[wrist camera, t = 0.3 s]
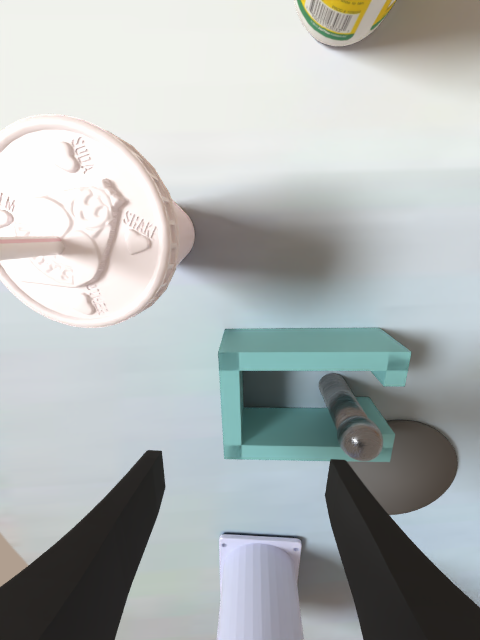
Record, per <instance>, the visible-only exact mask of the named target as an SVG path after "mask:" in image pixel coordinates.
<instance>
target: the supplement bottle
mask: <svg viewBox="0 0 480 640" xmlns="http://www.w3.org/2000/svg"><path fill="white" fill-rule="evenodd" d="M395 2H396V0H294V3H295V7H296V11H297V13H298V16H299V18H300V20H301V22H302V24H303V26H304V27H305V28H306V30H307V31H308V32H309V33H310V34H311V35H312V36H313V37H314V38H315V39H317V40H318V41H320V42H322V43H324V44H327V45H331V46H346V45H350V44H353V43H356V42H358V41H360V40H362V39H363V38H365V37H366V36H368V35H369V34H371V33H372V32H373V31H374V30H375V29H376V28H377V27H378V26H379V25H380V23H381V22H382V21H383V20H384V19H385V17H386V16H387V14H388V13H389V11H390V10H391V8H392V7H393V5H394V4H395Z"/></svg>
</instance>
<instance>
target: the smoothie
mask: <svg viewBox="0 0 480 640" xmlns="http://www.w3.org/2000/svg"><path fill="white" fill-rule="evenodd" d="M194 240H195V231H194V227H193V224H192V221H191V219H190V218H189V216H188V215H187V214H186V213H185V212H184V211H183V210H182V209H181V208H180V207H179V206H178V205H177V204H176V203H175V202H174V201H173V200H172V199H171V197H170V193H169V192H168V190H167V188H166V187H165V185H164V183H163V182H162V180H161V178H160V177H159V175H158V173H157V172H156V170H155V168H154V167H153V166H152V165H151V164H150V163H149V162H148V161H147V160H146V159H145V158H144V157H143V156H142V155H141V154H140V153H139V152H138V151H137V150H136V149H135V148H134V147H133V146H132V145H130V144H128V143H127V142H125V141H124V140H122V139H120V138H119V137H117V136H115V135H114V134H112V133H110V132H109V131H106V130H104V129H102V128H100V127H98V126H96V125H94V124H92V123H90V122H87V121H85V120H82V119H79V118H75V117H71V116H66V115H58V114H43V115H36V116H30V117H27V118H24V119H21V120H18V121H16V122H14V123H12V124H10V125H9V126H7V127H6V128H4V129H3V130H2V131H0V280H1V281H2V282H3V284H4V285H5V286H6V287H7V288H8V289H9V290H10V291H11V292H12V293H13V294H14V295H15V296H16V297H17V298H18V299H19V300H20V301H22V302H23V303H24V304H26V305H27V306H28V307H30V308H31V309H33V310H34V311H36V312H38V313H39V314H41V315H43V316H45V317H47V318H49V319H51V320H54V321H57V322H59V323H62V324H66V325H70V326H75V327H83V328H99V327H106V326H111V325H115V324H118V323H121V322H123V321H125V320H127V319H129V318H131V317H134V316H136V315H137V314H139V313H141V312H142V311H144V310H146V309H147V308H149V307H150V306H152V305H153V304H154V303H155V302H156V300H157V299H158V298H159V297H160V296H161V295H162V294H163V293H164V292H165V290H166V289H167V287H168V285H169V283H170V281H171V278H172V276H173V274H174V272H175V270H176V267H177V266H178V264H179V263H180V262H181V261H182V260H183V259H184V258H185V257H186V256H187V255H188V253H189V252H190V251H191V249H192V247H193V244H194Z"/></svg>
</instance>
